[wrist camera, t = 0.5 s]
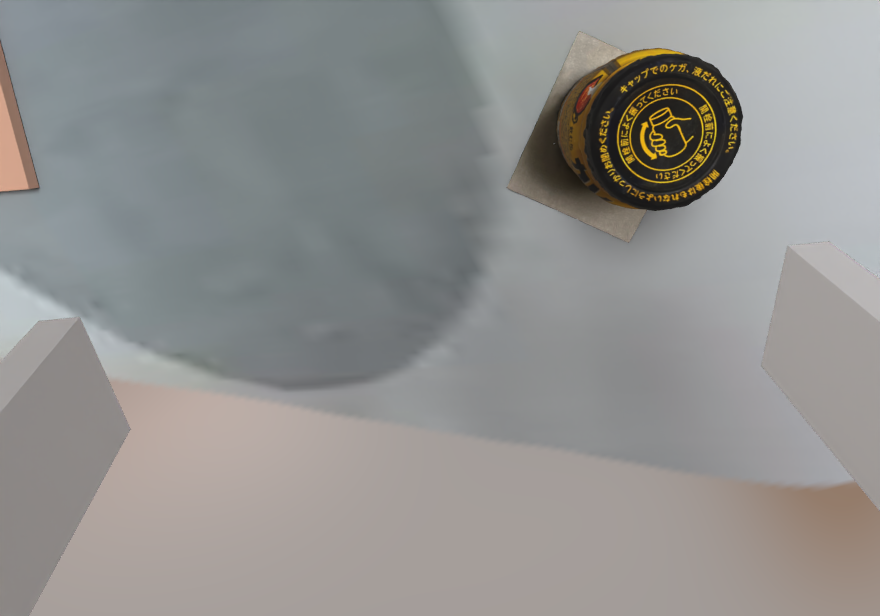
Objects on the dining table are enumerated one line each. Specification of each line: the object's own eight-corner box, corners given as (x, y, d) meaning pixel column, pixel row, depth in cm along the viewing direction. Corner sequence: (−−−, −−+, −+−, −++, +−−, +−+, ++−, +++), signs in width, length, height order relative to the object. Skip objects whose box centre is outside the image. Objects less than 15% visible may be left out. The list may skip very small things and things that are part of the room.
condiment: (710, 91, 32) (815, 80, 20) (628, 242, 34) (680, 307, 23) (578, 31, 32) (609, -14, 20) (506, 187, 34) (497, 225, 23)
